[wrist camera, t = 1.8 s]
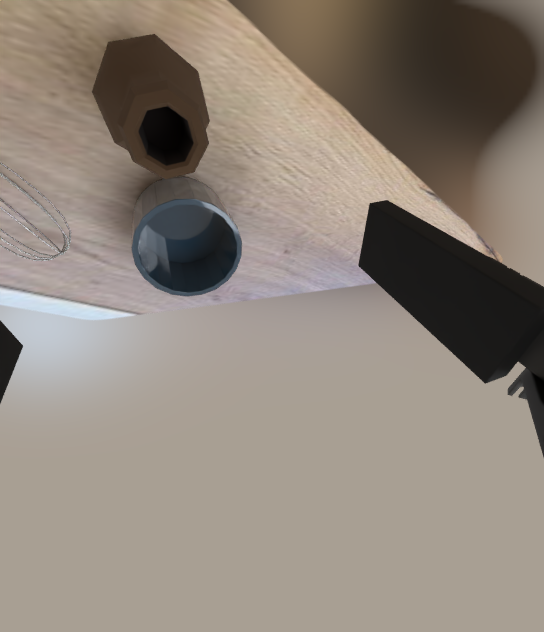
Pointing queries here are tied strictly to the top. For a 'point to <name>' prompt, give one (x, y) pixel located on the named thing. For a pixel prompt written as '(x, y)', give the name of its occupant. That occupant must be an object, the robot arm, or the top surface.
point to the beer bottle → (153, 105)
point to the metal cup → (184, 237)
